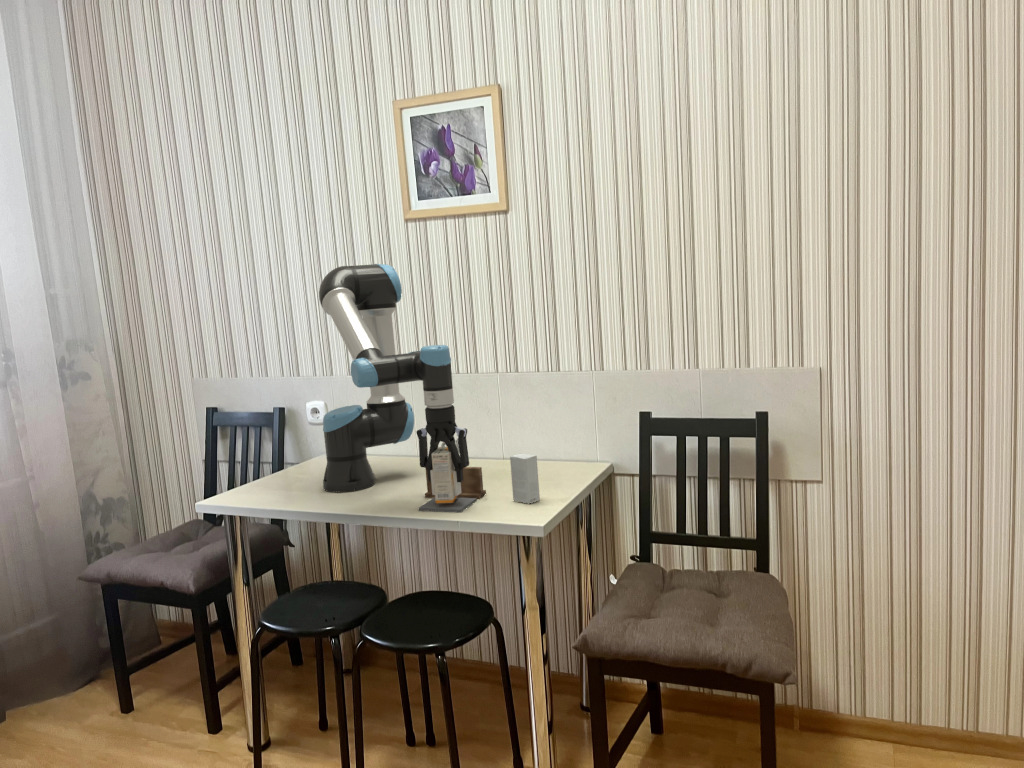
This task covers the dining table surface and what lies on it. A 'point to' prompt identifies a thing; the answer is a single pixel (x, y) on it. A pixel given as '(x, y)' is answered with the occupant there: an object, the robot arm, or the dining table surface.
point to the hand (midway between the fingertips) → (446, 493)
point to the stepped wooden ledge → (465, 484)
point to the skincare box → (525, 478)
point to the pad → (448, 505)
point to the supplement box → (443, 475)
